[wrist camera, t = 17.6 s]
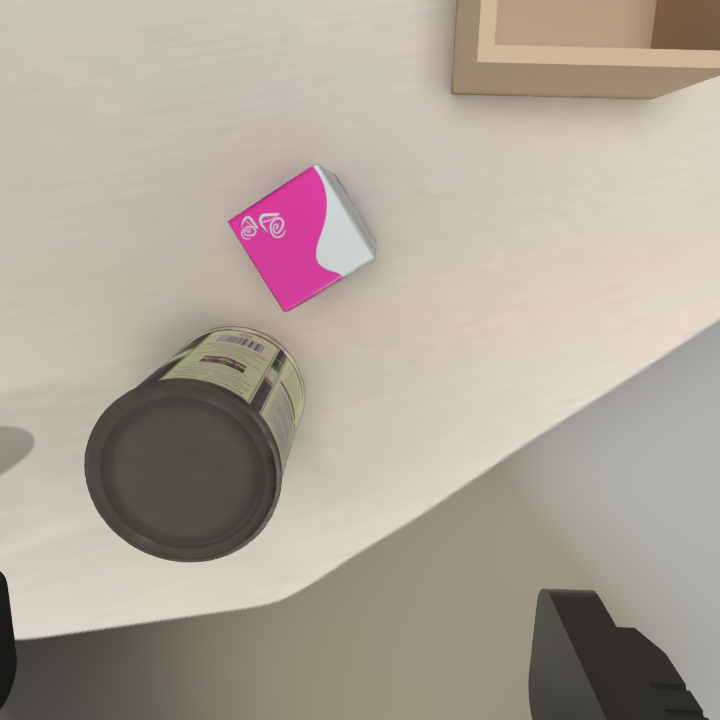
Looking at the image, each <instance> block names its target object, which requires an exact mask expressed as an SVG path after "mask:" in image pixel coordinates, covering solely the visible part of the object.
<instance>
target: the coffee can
mask: <svg viewBox="0 0 720 720" xmlns="http://www.w3.org/2000/svg"><path fill="white" fill-rule="evenodd" d="M304 399H305V395H304V385H303V379H302V376H301V374H300V371H299V369H298V367H297V365H296V363H295V361H294V360H293V358H292V357H291V355H290V354H289V353H288V352H287V351H286V350H285V349H284V348H283V347H282V346H281V345H280V344H279V343H278V342H276V341H275V340H273V339H272V338H271V337H269V336H267V335H265V334H262V333H260V332H258V331H254V330H251V329H247V328H241V327H223V328H216V329H212V330H210V331H207V332H204V333H202V334H200V335H198V336H197V337H195V338H194V339H192V340H191V341H189V342H188V343H187V344H186V345H185V346H184V347H183V348H182V349H181V350H180V351H179V352H178V353H177V354H176V355H174V356H173V357H172V358H171V359H170V360H169V361H167V362H166V363H165V364H164V365H163V366H161V367H160V368H159V369H158V370H157V371H155V372H154V373H153V374H152V375H151V376H149V377H148V378H147V379H146V380H145V381H143V382H142V383H141V384H140V385H139V386H137V387H136V388H135V389H133V390H131V391H129V392H127V393H126V394H124V395H123V396H121V397H120V398H118V399H117V400H116V401H115V402H114V403H112V404H111V405H110V406H109V407H108V408H107V409H106V410H105V411H104V413H103V414H102V415H101V417H100V418H99V419H98V421H97V423H96V424H95V426H94V428H93V430H92V432H91V435H90V437H89V440H88V443H87V447H86V452H85V464H84V466H85V477H86V483H87V486H88V490H89V493H90V496H91V499H92V501H93V502H94V505H95V507H96V509H97V511H98V512H99V514H100V515H101V517H102V518H103V519H104V521H105V522H106V523H107V525H108V526H109V527H110V528H111V529H112V530H113V531H114V532H115V533H116V534H117V535H118V536H120V537H121V538H122V539H124V540H125V541H126V542H127V543H129V544H130V545H132V546H133V547H135V548H137V549H139V550H141V551H143V552H145V553H147V554H150V555H153V556H155V557H158V558H162V559H165V560H170V561H177V562H203V561H210V560H214V559H218V558H221V557H224V556H227V555H229V554H231V553H233V552H236V551H238V550H239V549H241V548H242V547H244V546H246V545H247V544H248V543H249V542H251V541H252V540H253V539H254V538H255V537H257V536H258V535H259V533H260V532H261V531H262V530H263V529H264V528H265V526H266V525H267V523H268V522H269V520H270V519H271V517H272V515H273V513H274V510H275V508H276V505H277V503H278V499H279V496H280V491H281V484H282V476H283V473H284V470H285V466H286V463H287V459H288V456H289V452H290V449H291V446H292V442H293V439H294V435H295V432H296V429H297V425H298V423H299V421H300V418H301V416H302V412H303V407H304Z"/></svg>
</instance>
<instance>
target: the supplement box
mask: <svg viewBox="0 0 720 720" xmlns="http://www.w3.org/2000/svg"><path fill="white" fill-rule="evenodd" d="M228 223H229V225H230V227H231V228H232V230H233V231H234V233H235V235H236V236H237V238H238V239H239V241H240V242H241V244H242V246H243V247H244V249H245V250H246V252H247V254H248V255H249V257H250V258H251V260H252V262H253V263H254V265H255V266H256V268H257V270H258V271H259V273H260V274H261V276H262V278H263V279H264V281H265V282H266V284H267V286H268V287H269V289H270V291H271V292H272V294H273V295H274V297H275V299H276V300H277V302H278V303H279V305H280V306H281V308H282V310H283V311H284V312H287V311H290V310H292V309H294V308H295V307H297V306H299V305H301V304H302V303H304V302H306V301H307V300H309V299H311V298H312V297H314V296H315V295H317V294H319V293H320V292H322V291H324V290H325V289H327V288H328V287H330V286H332V285H333V284H335V283H336V282H338V281H340V280H341V279H343V278H344V277H346V276H348V275H349V274H351V273H352V272H354V271H356V270H357V269H359V268H360V267H362V266H364V265H365V264H367V263H368V262H370V261H371V260H373V259H374V257H375V250H376V243H375V241H374V239H373V238H372V236H371V234H370V232H369V231H368V229H367V227H366V226H365V224H364V222H363V220H362V219H361V217H360V215H359V214H358V212H357V210H356V209H355V207H354V205H353V204H352V202H351V200H350V198H349V197H348V195H347V193H346V192H345V190H344V188H343V187H342V185H341V183H340V182H339V180H338V178H337V177H336V175H335V174H333V173H331V172H329V171H328V170H326V169H324V168H323V167H321V166H320V165H318V164H316V165H314V166H312V167H310V168H309V169H307V170H305V171H304V172H302V173H301V174H299V175H298V176H296V177H295V178H293V179H292V180H290V181H289V182H287V183H286V184H284V185H283V186H281V187H280V188H278V189H276V190H275V191H273V192H272V193H270V194H269V195H267V196H266V197H264V198H263V199H261V200H260V201H258V202H257V203H255V204H254V205H252V206H251V207H249V208H248V209H246V210H245V211H243V212H241V213H240V214H238V215H237V216H235V217H234V218H232V219H231V220H229V221H228Z"/></svg>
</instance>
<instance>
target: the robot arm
mask: <svg viewBox="0 0 720 720" xmlns="http://www.w3.org/2000/svg"><path fill="white" fill-rule="evenodd" d="M16 667H17V655H16V648H15V640H14V632H13V624H12V616H11V608H10V601H9V593H8V585H7V581H6V578H5V576H4V575H3V573H2V572H0V710H1V708H2V707H3V705H4V703H5V702H6V700H7V698H8V696H9V694H10V691H11V688H12V686H13V682H14V679H15V674H16ZM529 701H530V709H531V715H532V719H533V720H709V719H708V718H705V717H704V716H703V710H702V709H701V707H700V706H699V704H698V703H697V701H696V700H695V698H694V696H693V695H692V693H691V692H690V691H687V690H686V684H685V683H684V681H683V680H682V678H681V677H680V675H679V674H678V672H677V671H676V669H675V667H674V666H673V664H672V663H671V661H670V660H669V658H668V657H667V655H666V654H665V653H664V652H663V651H662V650H661V649H659V648H658V647H657V646H656V645H655V644H653V643H652V642H651V641H650V640H649V639H647V638H646V637H645V636H644V635H642V634H641V633H640V632H639V631H638V630H636V629H635V628H622V627H616V625H615V623H614V622H613V620H612V618H611V617H610V615H609V613H608V611H607V610H606V608H605V606H604V605H603V603H602V601H601V599H600V598H599V596H598V595H597V593H596V592H595V591H593V590H568V589H567V590H566V589H542V590H541V591H540V593H539V595H538V600H537V607H536V616H535V625H534V635H533V644H532V653H531V661H530V670H529Z"/></svg>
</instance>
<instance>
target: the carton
mask: <svg viewBox="0 0 720 720" xmlns="http://www.w3.org/2000/svg"><path fill="white" fill-rule="evenodd" d="M719 75H720V0H457V9H456V26H455V43H454V60H453V78H452V94H472V95H510V96H548V97H586V98H625V99H653V98H656V97H659V96H662V95H665V94H668V93H671V92H673V91H676V90H679V89H682V88H685V87H688V86H691V85H694V84H696V83H699V82H702V81H705V80H708V79H711V78H714V77H716V76H719Z"/></svg>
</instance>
